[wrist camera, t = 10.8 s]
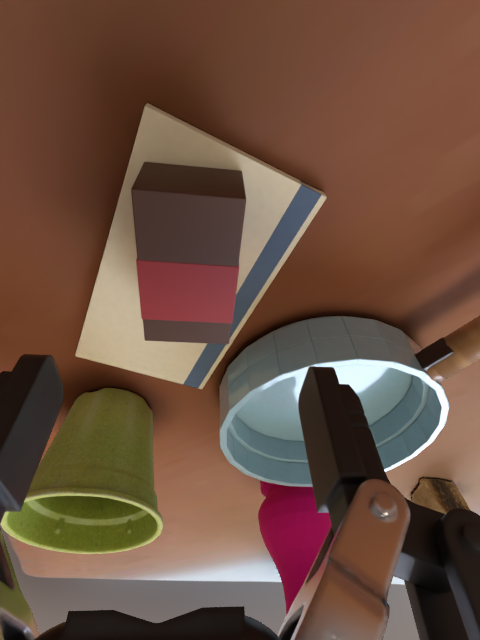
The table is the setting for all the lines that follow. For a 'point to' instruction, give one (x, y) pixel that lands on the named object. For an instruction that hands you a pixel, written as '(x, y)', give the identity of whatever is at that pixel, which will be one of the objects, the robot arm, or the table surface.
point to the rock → (438, 495)
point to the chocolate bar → (188, 250)
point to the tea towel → (254, 261)
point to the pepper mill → (292, 532)
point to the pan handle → (452, 352)
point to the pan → (351, 368)
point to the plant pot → (94, 480)
